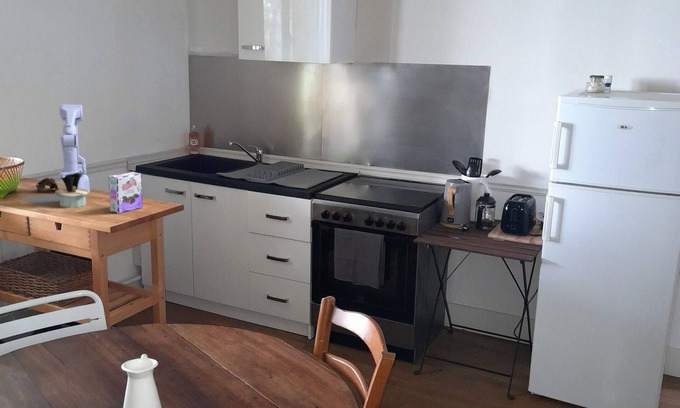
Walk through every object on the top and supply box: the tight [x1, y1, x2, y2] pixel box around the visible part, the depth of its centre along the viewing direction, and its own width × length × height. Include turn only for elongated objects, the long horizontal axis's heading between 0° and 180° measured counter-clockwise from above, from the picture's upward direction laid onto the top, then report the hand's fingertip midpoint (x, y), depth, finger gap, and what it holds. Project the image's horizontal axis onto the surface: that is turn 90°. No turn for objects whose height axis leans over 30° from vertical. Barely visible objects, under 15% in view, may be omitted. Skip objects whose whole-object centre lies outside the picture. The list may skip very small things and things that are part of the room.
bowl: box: [59, 195, 87, 209], centre depth 291 cm, size 11×11×5 cm
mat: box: [21, 193, 60, 206], centre depth 298 cm, size 16×16×1 cm
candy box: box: [108, 171, 143, 214], centre depth 286 cm, size 14×6×16 cm, turn 148°
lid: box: [54, 186, 89, 197], centre depth 290 cm, size 14×14×3 cm
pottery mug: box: [35, 177, 60, 192], centre depth 315 cm, size 12×10×8 cm
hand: (72, 190), depth 290 cm, fingers closed on lid, 3 cm apart
